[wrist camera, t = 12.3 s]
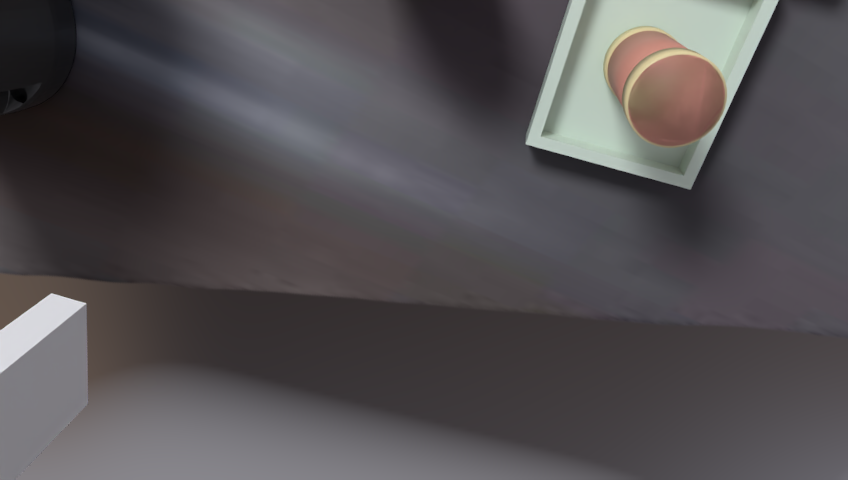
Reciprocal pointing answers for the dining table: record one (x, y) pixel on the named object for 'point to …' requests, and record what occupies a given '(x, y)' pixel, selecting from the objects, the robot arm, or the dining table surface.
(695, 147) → the parts tray
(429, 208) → the dining table surface
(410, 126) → the dining table surface
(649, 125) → the fuse
